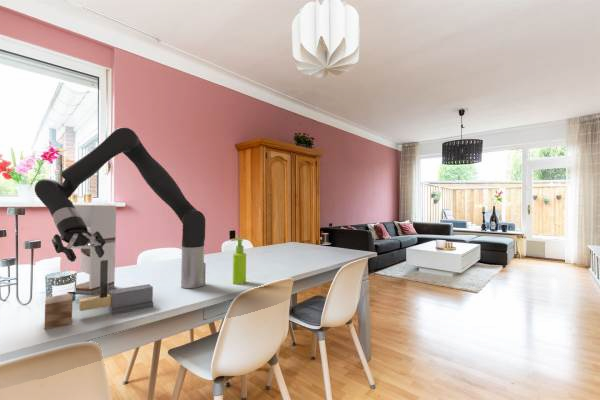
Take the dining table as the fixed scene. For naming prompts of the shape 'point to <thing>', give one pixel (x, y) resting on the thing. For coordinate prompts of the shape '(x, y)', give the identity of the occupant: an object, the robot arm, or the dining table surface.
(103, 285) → the post on wooden plank
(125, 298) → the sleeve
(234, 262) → the soap dispenser
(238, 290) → the dining table surface
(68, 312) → the socket block
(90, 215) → the grey tall box
